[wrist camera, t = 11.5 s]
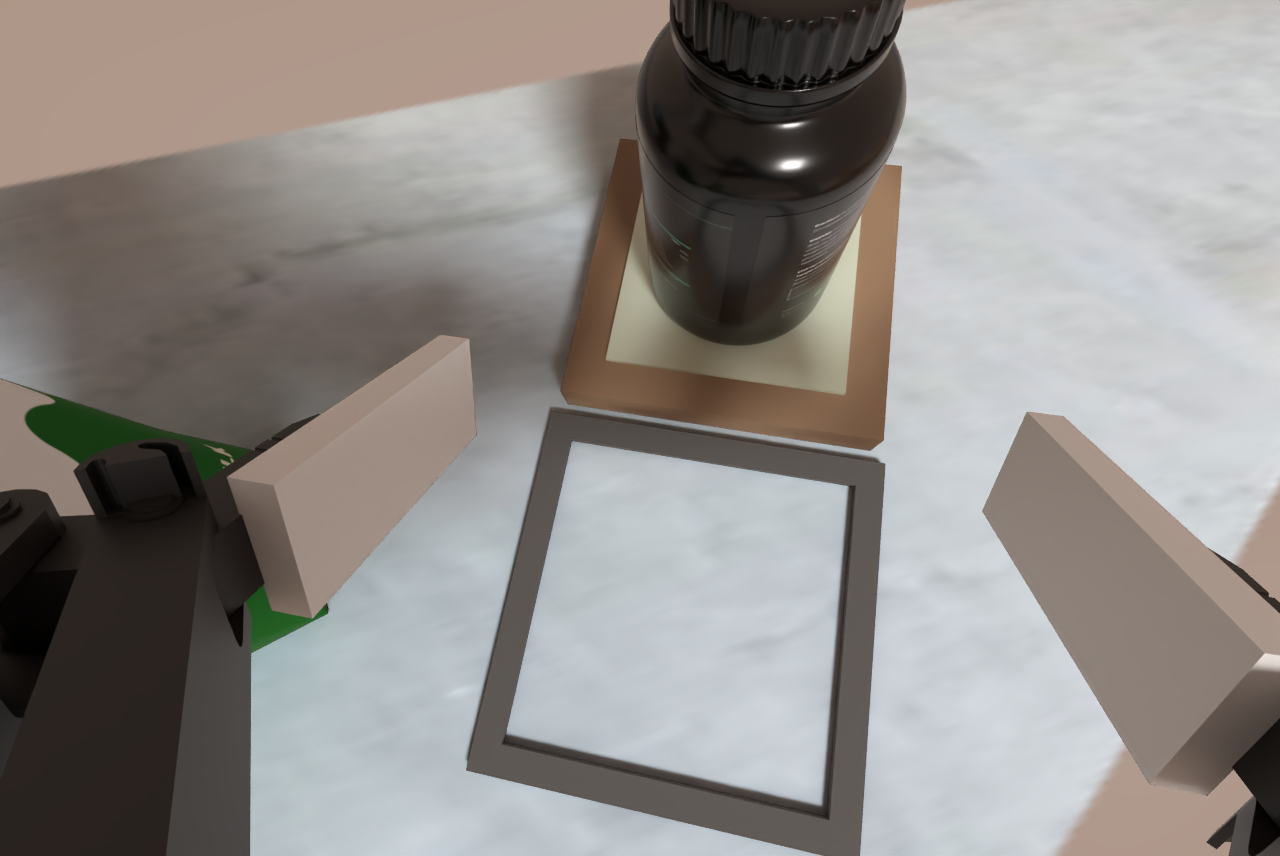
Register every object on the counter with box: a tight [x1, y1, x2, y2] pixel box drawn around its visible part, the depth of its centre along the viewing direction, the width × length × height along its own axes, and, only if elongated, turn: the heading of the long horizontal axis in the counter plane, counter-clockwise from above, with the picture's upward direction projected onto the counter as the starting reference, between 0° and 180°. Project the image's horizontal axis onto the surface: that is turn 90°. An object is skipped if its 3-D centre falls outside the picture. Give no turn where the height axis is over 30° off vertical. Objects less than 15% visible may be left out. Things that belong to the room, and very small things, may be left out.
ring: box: [466, 411, 885, 856], centre depth 20 cm, size 13×13×1 cm
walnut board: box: [561, 139, 902, 451], centre depth 23 cm, size 12×12×2 cm
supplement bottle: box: [635, 0, 906, 346], centre depth 16 cm, size 7×7×12 cm
